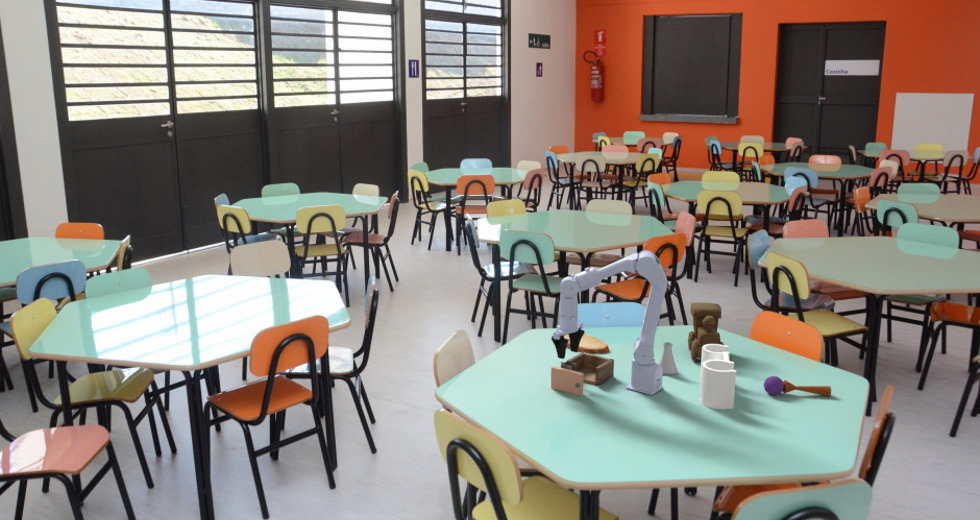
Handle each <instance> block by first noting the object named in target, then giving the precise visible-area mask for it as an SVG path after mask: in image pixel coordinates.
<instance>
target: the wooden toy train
mask: <svg viewBox="0 0 980 520" xmlns="http://www.w3.org/2000/svg"><path fill="white" fill-rule="evenodd" d="M722 310H723V309H722V307H721V305H720V304H719V303H714V302H690V315H691V316H692V325H693V326H692V327H693V328H692V329H693V330H691V331H689V332H688V337H687V344H688V350H690V358H691V361H697V359H701V357H702V346H704V345H706V344H720V345H725V344H724V342H723V341H721V334H720V332H718V327H719V319H722Z"/></svg>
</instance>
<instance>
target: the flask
mask: <svg viewBox="0 0 980 520" xmlns="http://www.w3.org/2000/svg"><path fill="white" fill-rule="evenodd" d="M662 344H663V351H662V354H661V356H660V358H659V362H658V363H657V364H658V365H661V366H662V368H663V375H666V376H667V375H668V376H671V375H676V374H677V373H678V368H677V365H676V362H675V359H674V355H673V345H674V344H673V343H672V342H670V341H664V342H663V343H662Z"/></svg>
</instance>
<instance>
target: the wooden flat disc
mask: <svg viewBox="0 0 980 520" xmlns="http://www.w3.org/2000/svg"><path fill="white" fill-rule="evenodd" d="M564 337H565V339H569V335H568V334H567V335H565V336H564ZM566 349H569V350H571V349H570V339H569V341H568V344H567V347H566ZM610 351H611V350H610V348H609V346H608V343H607V342H604V341H603V340H601V339H599V338H598V337H595V336H592V335H589V334H587V333H584V335H583V336H582V338H581V341H580V344H579V347H578V351H577V352H580V353H582V352H585V353H588V354H593V355H598V354H599V355H600V354H602V355H603V354H607V353H610Z"/></svg>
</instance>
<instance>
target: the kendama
mask: <svg viewBox="0 0 980 520" xmlns="http://www.w3.org/2000/svg"><path fill="white" fill-rule="evenodd" d="M763 389H764V390H765V392H766V393H767V394H769V395H771V396H778V395H780V394H787V393H790V392H792V391H801V392H805V393H810V394H814V395H818V396H819V395H820V396H824V397H829V398H830V397H831V394H832V387H831V385H795V384H793V383H791V382H789V381H787V380H786V379H784V380H782V379H781V377H780V376H776V375H770V376H768V377H767V378H765V379H764V381H763Z"/></svg>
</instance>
